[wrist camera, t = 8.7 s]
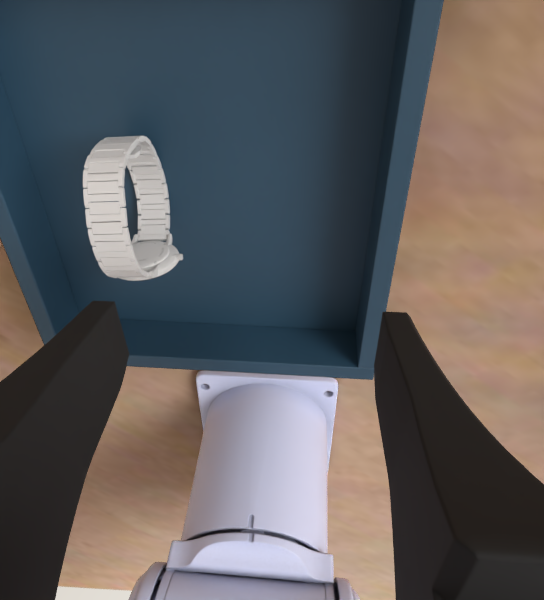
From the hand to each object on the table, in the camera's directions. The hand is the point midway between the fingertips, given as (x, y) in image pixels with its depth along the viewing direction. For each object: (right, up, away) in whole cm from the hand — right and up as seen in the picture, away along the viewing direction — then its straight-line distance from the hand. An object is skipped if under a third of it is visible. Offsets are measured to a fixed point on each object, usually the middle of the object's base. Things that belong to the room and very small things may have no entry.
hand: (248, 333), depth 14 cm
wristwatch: (-4, +6, +7) cm, 10 cm away
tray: (-2, +6, +7) cm, 10 cm away
